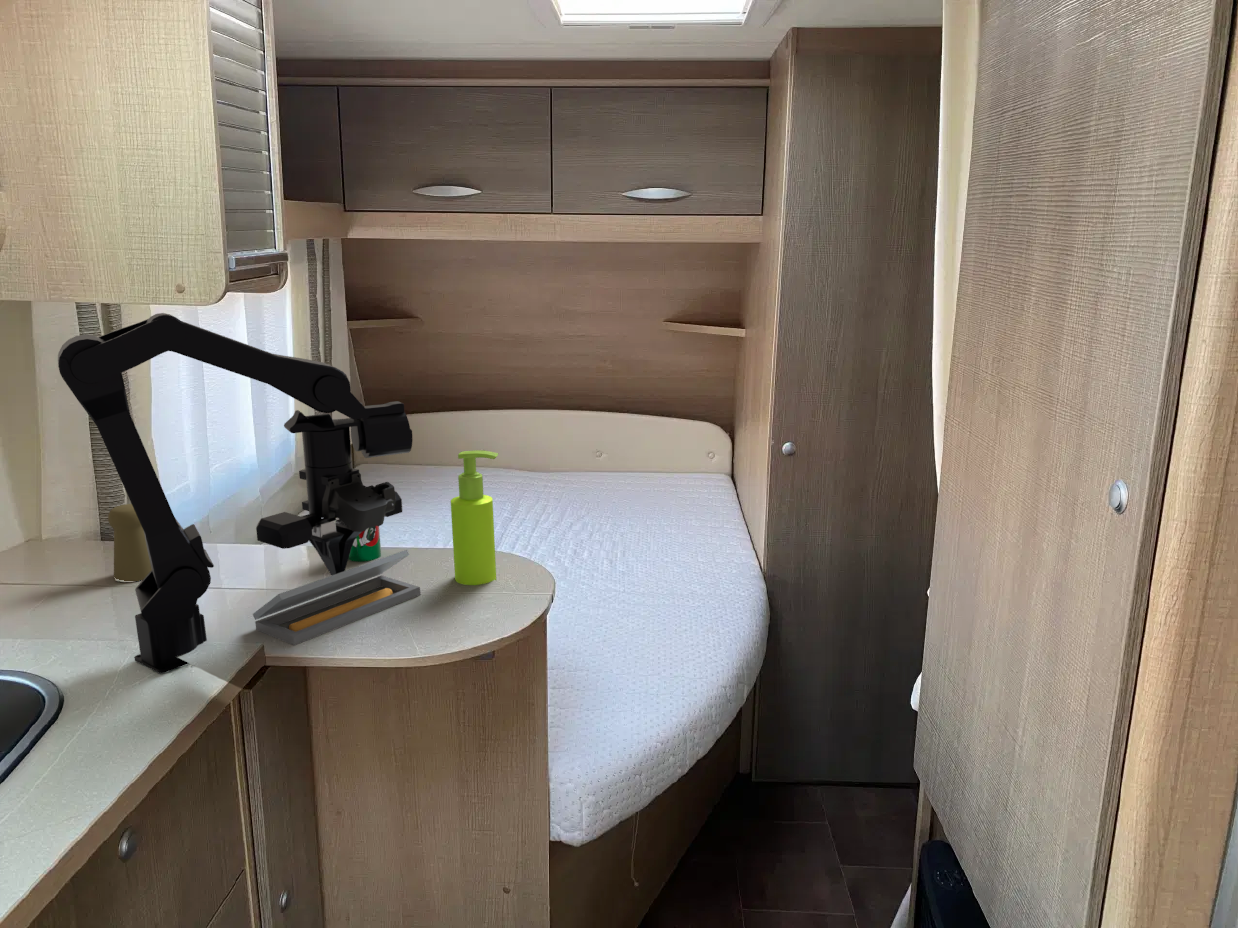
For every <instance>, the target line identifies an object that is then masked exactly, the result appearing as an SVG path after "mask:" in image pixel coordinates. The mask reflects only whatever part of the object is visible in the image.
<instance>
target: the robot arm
mask: <svg viewBox="0 0 1238 928" xmlns="http://www.w3.org/2000/svg"><path fill="white" fill-rule="evenodd" d="M167 352H173V353H176V354H177V355H178V354H179V355H182V356H185V357H188V358H190V359H193V360H197V361H199V362H202V363H205V364H208V365H211V366H214V367H217V368H220V369H223V370H226V371H229V372H231V373H235V374H237V375H240V376H243V377H247V378H249V379H252V380H254V381H256V382H257V381H258V382H261V383H263V384H266V385H269V386H270V387H272V388H275V389H276V390H278V391H280V392H282V393H283V394H286V395H287V396H289V397H290V398H291V397H292V399H295V400H296V401H298V402H299V403H301V404H303V405H306V406H307V407H309V408H311V409H312V410H315V411H316V412H319V413H320V414H313V415H312V414H311V415H305V414H304V413H303V412H302V411H301V410H299V409H296V410H295V411H294V413H293V415H292V416H291V417H290V418H289V419H288V420H286V422H284V424H283V428H285V430H287V431H288V432H290V433H291V434H299V433H301V435H302V436H301V438H302V446H303V447H302V448H303V459H304V469H302V470H298V473H299V474H298V475H299V479H300V480H304V481H306V482H305V483H306V491H307V493H306V494H307V500H303V501H301V508H302V510H303V511H307V512H308V514H305V515H301V516H300V515H297V514H293V513H289V512H286V511H282V512H279V513H276V514H273V515H269V516H265V517H262V518H260V519H259V521H258V522H257V524H256V526H255V527H256V528H255V530H256V531H255V532H256V540H257V542H262V543H265V544H267V545H269V546H273V547H276V548H280V549H292V548H294V547H295V548H296V547H298V546H300V545H305V544H307V543H308V542H310V544H311V545H312V547H313V548H314V550H315V551H316V552H317V554H318V555H319V557H320V559H321V561H322V562H323V564H324V565H325V567H326V569H327V570H328V572H329V574H330V576H332V575H335V574H338V573H341V572H344V571H346V567H347V566H348V565H347V564H348V561H349V560H348V558H349V555H350V551H351V548H352V545H353V543H354V540H355V538H356V537H357V536H358V535H359V534H360V533H361V532H362V531H365V530H366V529H368V528H371V527H374V526H379V527H380V526H382V525H383V524H384V522H385V517H386V518H388V517H392V516H395V515H398V514H401V513H403V498H401V496H400V494H399V493H398V492H397V491H396V490H395V486H394V485H393V484H391V483H390V482H389V481H385V482H382V483H378V484H376V485H375V486H374V485H373V484H371V485H369V486H367V485H366V486H365V485H364V483H363V480H362V474H361V473H360V469H357V468H353V458H352V447H353V449H354V451H355V452H361V454H362V456H363V457H364V458H365V459H369V458H377V457H385V456H393V455H394V456H395V455H400V454H401V455H402V454H408V453H410V452H411V451H412V447H413V429H412V428H411V426H410V422H409V419H408V416H407V414H406V411H405V404H404V403H403V402H400V401H390V402H389V401H388V402H386V403H384V404H383V403H382V404H373V405H363V402H360V400H358V399H357V397H356V396H355V395H354V394H353V393H352V392H351V391H352V390H351V389H352V387H351V382H350V380H349V377H348V376H347V374H346V373H345V372H344V371H343V370H341V369H339V368H337V367H335V366H332V365H331V364H328V363H326V362H322V361H317V360H312V359H307V358H306V359H305V358H301V357H295V356H290V355H289V356H288V355H282V354H277V353H273V352H272V353H271V352H269V351H267V350H263V349H260V348H257V347H256V346H252V345H249V344H246V343H244V342H241V341H238V340H236V339H232V338H230V337H228V336H225V335H221V334H219V333H216V332H213V331H212V330H211V331H210V330H208V329H206V328H203V327H199V326H197V325H193V324H191V323H190V322H185V321H182V320H180V319H179V318H177V317H176V316H174V315H173V314H169V313H164V312H161V313H155V314H153V315H151V316H149V318H147V319H145V320H142V321H139V322H136V323H133V324H131V325H127V326H125V327H122V328H119V329H115V330H113V331H110V332H108V333H105V334H103V335H101V336H96V335H92V334H80V335H76V336H73V337H71V338H69V339H68V340H66V341H65V342H64V343H63V344H62V346H61V347H60V348H59V351H58V354H57V365H58V371H59V374H60V376H61V378H62V379H63V381H64V382H65V384H66V386H68V388H69V390H70V391H71V393H72V394H73V395H74V397H75V398H76V400H77V401H78V402H79V404H80V405H81V406H82V408H83V409H84V411H85V412H86V414H87V415H88V416H89V417H90V419H91V420H92V421H93V423H94V424H95V425H96V428H97V429H98V432H99V434H100V436H101V438H102V441H103V443H104V445H105V448H106V449H107V452H108V455H109V457H110V458H111V461H112V463H113V466H114V467H115V470H116V472H117V474H118V477H119V478H120V481H121V483H122V486H123V488H124V490H125V492H126V494H127V496H128V499H129V501H130V504H132V506H133V508H134V510H135V512H136V515H137V517H138V519H139V521H140V524H141V526H142V528H143V530H144V535H145V540H146V545H147V550H148V555H149V559H150V564H151V568H152V570H151V571H150V572H149V574H148V575H147V576H146V577H145V578H144V579H143V580H142V581H140V583H139V584H138V585H137V586H136V587H135V589H134V592H135V595H136V598H137V602H138V606H139V610H140V613H137V614H135V615H134V619H135V625H136V634H137V639H138V647H139V653H140V654H137V655H134V661H135V663H139V664H140V665H142V666H144V667H147V668H148V669H150V670H153V671H155V672H156V673H158V674H166V673H168V672H170V671H173V670H175V669H178V668H182V667H183V666H186V665H188V664H190V662H188V661H187V660H184V659H182V658H179V657H180V656H183V655H187V654H189V653H190V652H193V651H194V650H195V649H197V647H198V646H199V645H202V644H203V643H204V642H207V641H208V639H207V632H206V624H205V616H204V614H202V613H200V606H199V604H198V603H197V602H198V599H200V598H202V596H203V595H204V594H205V593H206V592H207V591H208V588H209V587H210V584H211V583H212V582H211V579H212V577H211V573H210V570H209V568H210V569H211V568H214V567H215V565H214V563H213V561H212V559H211V557H210V556H209V554H208V552H207V550H206V549H205V548H204V543H203V539H202V535H201V533H200V532H199V530H198V529H197V527H196V524H193V523H192V524H190V525H188V526H187V527H185V528H183V526H182V525H181V524H180V523H179V521H178V520H177V518H176V517H175V515H174V513H173V510H172V508H171V506H170V503H169V501H168V499H167V496H166V494H165V492H164V489H163V488H162V485H161V483H160V480H159V478H158V475H157V473H156V471H155V469H154V466H153V464H152V462H151V459H150V458H149V456H148V453H147V450H146V447H145V445H144V444H143V441H142V439H141V436H140V433H139V432H138V429H137V426H136V425H135V422H134V420H133V419H132V415H131V411H130V407H129V402H128V396H127V391H126V386H125V381H124V377H123V373H124V372H126V371H128V370H131V369H133V368H136V367H138V366H139V365H142V364H144V363H146V362H148V361H150V360H152V359H154V358H156V357H159V356H160V355H162V354H164V353H167ZM334 412H338V413H340V414H342V415H343V416H346V417H347V418H337V419H335V418H334V419H333V418H332V416H331V415H330V414H331V413H334ZM321 413H322V414H321ZM351 443H352V447H351Z"/></svg>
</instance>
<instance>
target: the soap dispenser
mask: <svg viewBox="0 0 1238 928" xmlns="http://www.w3.org/2000/svg"><path fill="white" fill-rule="evenodd" d="M498 455H499V453H498V452H494V451H491V450H490V451H489V450H480V449H479V450H478V449H477V450H466V451H465V450H464V451H460V452H459V453H458V455H457V456H458V457H457V459H458V460H459V459H462V460H463V472H462V473H461V474H459V475H458V477H457V479H458V496H455V497H453V498H451V499H450V514H451V515H450V516H451V531H452V548H453V563H454V565H453V566H454V579H455V582H456V583H457V584H460V585H465V586H480V585H485V584H489V583H492V582H493V581H497V565H496V564H497V563H496V544H495V525H494V524H495V522H494V521H495V519H494V518H495V517H494V501H493V500H494V499H493V497H492V496H490V495H488V494H484V479H483V474H482V473H479V471H477V459H478V458H480V459H481V458H482V459H483V458H484V459H491V460H495V459H496V458H497V457H498ZM476 458H477V459H476Z"/></svg>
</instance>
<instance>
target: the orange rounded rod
mask: <svg viewBox="0 0 1238 928" xmlns="http://www.w3.org/2000/svg"><path fill="white" fill-rule="evenodd" d="M392 594H394V592H393V590H391V589H389V588H385V587H384V588H382V589H380V590H378V591H374V592H372V593H369V594H367V595H364V596H361V597H359V598H356V599H354V600H351V601H349V602H345V603H343V604H341V605H337V606H335V607H333V608H330V609H327V610H325V611H322V612H320V613H317V614H313V615H311V616H309V617H306V618H304V619H301V620H298V621H296V622H292V623H290V624H289V625H288V629H290V630H292V631H295V632H297V631H299V630H302V629H304V628H307V627H309V626H312V625H315V624H317V623H320V622H322V621H325V620H327V619H330V618H333V617H335V616H338V615H340V614H343V613H345V612H348V611H351V610H353V609H356V608H358V607H361V606H363V605H366V604H369V603H371V602H374V601H376V600H379V599H381V598H384V597H387V596H389V595H392Z"/></svg>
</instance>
